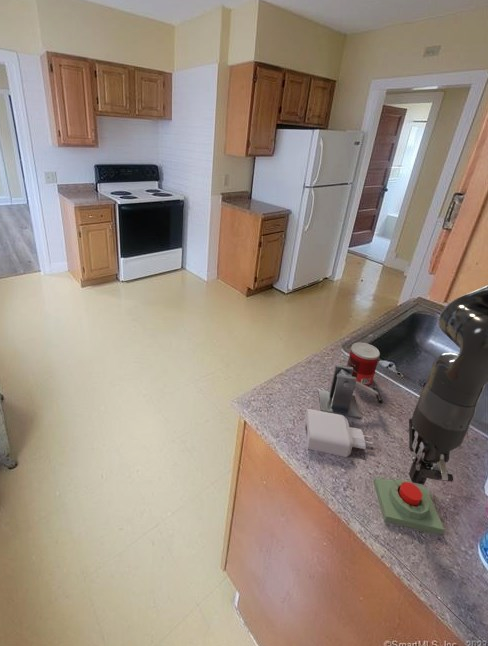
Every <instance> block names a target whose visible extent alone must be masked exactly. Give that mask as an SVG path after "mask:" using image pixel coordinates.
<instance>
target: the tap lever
mask: <svg viewBox="0 0 488 646" xmlns="http://www.w3.org/2000/svg"><path fill="white" fill-rule="evenodd" d="M338 374H340V375H346V376H351V374H350V373H348V372H346V371H344V370H343V369H341V371H340V372H339V373H338ZM338 374H337V377H338ZM355 388H358V389H360V390H362V391H364V392H366V393H367V394H370V395H371V396H373V397H375V398H376V400H377V403H378V405H382V404H383V403H384V400H383V398H382V395H381V393H380V390H379V388H378V387H377V386H373V387H372V388H371V387H369V386H365V385H363V384H362V383H360V382H358V381H356V384H355Z"/></svg>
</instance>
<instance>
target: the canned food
mask: <svg viewBox="0 0 488 646" xmlns="http://www.w3.org/2000/svg"><path fill="white" fill-rule="evenodd" d="M380 355H381V352H380V351H379V349H378V348H377V347H376V346H374V345H372V344H371V343H366V342H355V343H353V344H351V347H350V351H349V355H348V360H347V364H346V366H348V367H353V373H352V377H356V379H357V380H356V381H358V382H360V383H362V384H363V385H365V386H367V387H369V386H371V385H372V384H373V380H374V377H375V374H376V370H377V366H378V363H379V359H380Z"/></svg>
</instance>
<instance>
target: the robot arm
mask: <svg viewBox="0 0 488 646" xmlns="http://www.w3.org/2000/svg"><path fill="white" fill-rule="evenodd" d="M438 326H439V328H440V330H441V331H442V333H444V335H446V337H448V338H449V339H450V341H452V343H454V344H455V345H456V346H457V347H458V348H459V353H456V352H443V353H441V354H439V355H438V356H437V357H436V358H435V360H434V361H433V364H432V366H431V369H430V372H429V374H428V376H427V377H428V378H427V380H426V382H425V384H424V386H423V387H422V389H421V391H420V394H419V396H418V399H417V403H416V405H415V408H414V411H413V413H412V415H411V416H412V417H411V418H409V419H408V439H409V440H408V441H409V443H408V444H409V445H408V447H409V451H410V452H412V454H411V460H412V463H411V466H410V469H409V472H408V476H409V478H410V482H411V483H413V484H416V485H417V484H418V485H422V486H424V485H425V484H426V481H427V479H429V480H434V481H442V482H451V483H452V482H453V481H454V476H453V474H452V473H450V472H449V471H448V470H447V465H446V464H447V463H448V462H449V461H450V453H451V452H452V451H453V450H455V449H457V448H459V447H461V446H462V444H463V442H464V440H465V437H466V436H467V433H468V430H469V429H470V426H471V424H472V422H473V420H474V418H475V415H476V412H477V406H478V405H479V404H478V403H479V401H480V398H481V397H482V394H483V393H484V390H485V386H486V385H487V384H488V285H485V286H483V287H481V288H478V289H476V290H473V291H471V292H468V293H466V294H463V295H461V296H459V297H457V298H455V299H453V300H452V301H451V302H449V303H448V304H447V305H446V306H445V307H444V308H443V309H442V311H441V312H440V314H439V316H438Z"/></svg>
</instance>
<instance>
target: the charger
mask: <svg viewBox="0 0 488 646" xmlns="http://www.w3.org/2000/svg"><path fill="white" fill-rule="evenodd" d="M304 426H305V428H306V433H305V437H306V448H307V450H309V451H315V452H320V453H324V454H331V455H334V456H339V457H344V458H348V456H350V455H351V454H352V450H353V448H356V449H362V450H366V444H367V445H374V442H373V441H368V440H366V438H367V439H372V438H373V437H372V436H371V435H367V434H364V431H363V430H362V429H361V428H358V427H352V426H350V424H349V419H348V418H347V417H346V416H343V415H339V414H333V413H328V412H323V411H321V410H317V409H316V410H315V409H311V408H306V412H305V416H304Z"/></svg>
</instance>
